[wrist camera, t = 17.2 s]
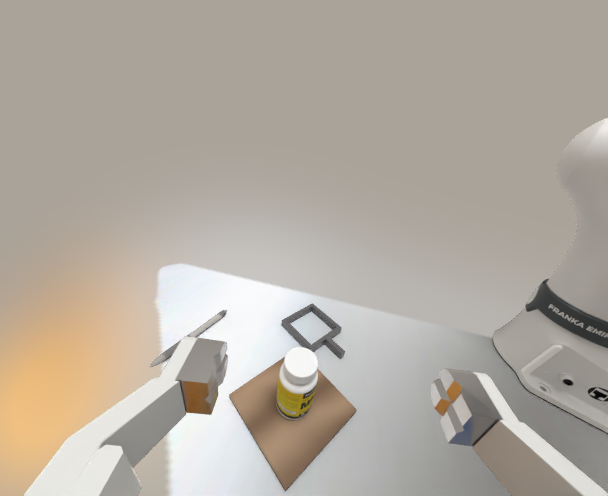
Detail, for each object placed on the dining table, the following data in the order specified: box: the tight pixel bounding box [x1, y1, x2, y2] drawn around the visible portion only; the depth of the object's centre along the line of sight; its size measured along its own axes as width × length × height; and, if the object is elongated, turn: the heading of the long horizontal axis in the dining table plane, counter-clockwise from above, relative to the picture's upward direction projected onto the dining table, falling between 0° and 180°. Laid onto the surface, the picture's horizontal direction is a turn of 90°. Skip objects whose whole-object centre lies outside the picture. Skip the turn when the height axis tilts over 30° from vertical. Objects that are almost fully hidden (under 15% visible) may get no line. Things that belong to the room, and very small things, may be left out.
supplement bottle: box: [276, 347, 318, 420], centre depth 30 cm, size 5×5×8 cm
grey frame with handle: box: [282, 303, 345, 359], centre depth 43 cm, size 11×8×1 cm
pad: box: [229, 357, 356, 491], centre depth 32 cm, size 12×12×1 cm
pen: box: [150, 310, 227, 367], centre depth 39 cm, size 1×14×1 cm, turn 148°
